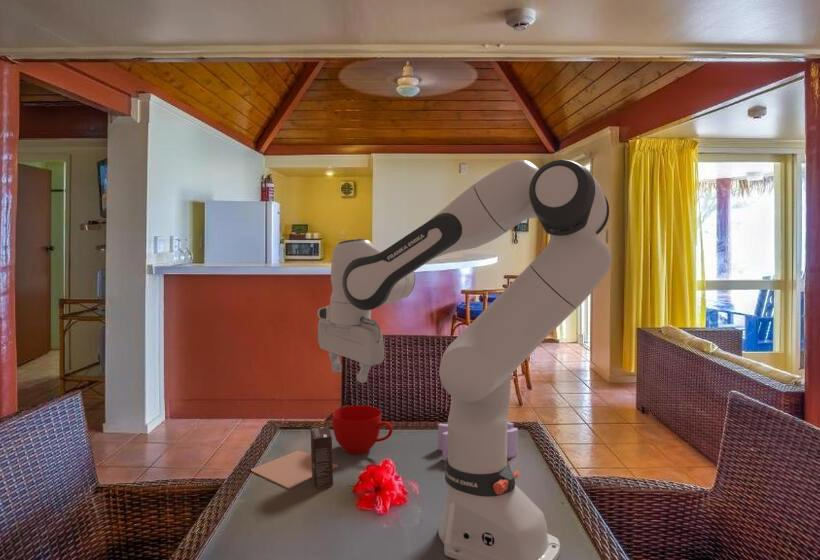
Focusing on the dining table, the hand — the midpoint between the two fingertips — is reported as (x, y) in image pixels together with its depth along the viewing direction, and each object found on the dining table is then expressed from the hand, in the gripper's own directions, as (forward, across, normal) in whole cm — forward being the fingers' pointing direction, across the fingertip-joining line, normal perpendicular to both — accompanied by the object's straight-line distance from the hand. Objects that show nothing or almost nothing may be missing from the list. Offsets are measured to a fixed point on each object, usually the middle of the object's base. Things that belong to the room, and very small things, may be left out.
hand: (348, 376), depth 116 cm
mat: (+26, +17, +3) cm, 32 cm away
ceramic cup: (+26, +15, -16) cm, 34 cm away
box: (+26, +7, +2) cm, 27 cm away
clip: (+25, -5, -38) cm, 46 cm away
